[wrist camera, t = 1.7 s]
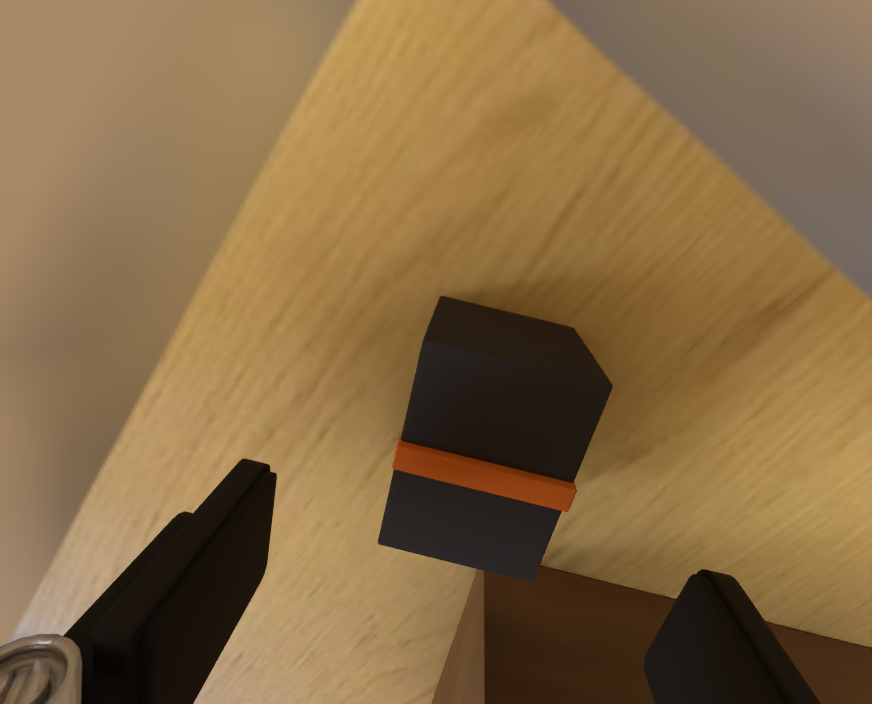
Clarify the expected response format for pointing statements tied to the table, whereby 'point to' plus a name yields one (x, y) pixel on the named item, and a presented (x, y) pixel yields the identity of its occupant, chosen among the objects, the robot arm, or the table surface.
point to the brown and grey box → (597, 646)
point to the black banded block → (492, 439)
